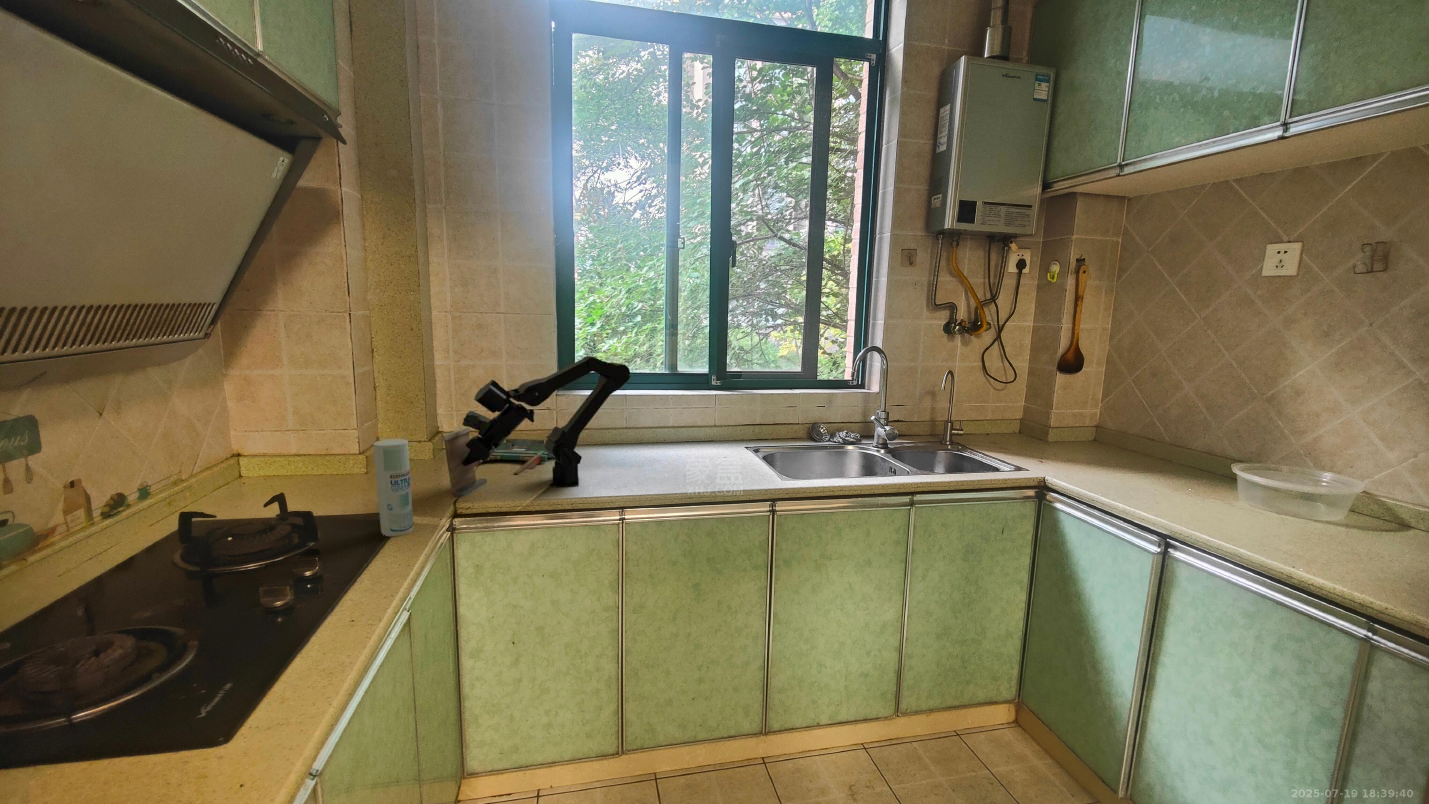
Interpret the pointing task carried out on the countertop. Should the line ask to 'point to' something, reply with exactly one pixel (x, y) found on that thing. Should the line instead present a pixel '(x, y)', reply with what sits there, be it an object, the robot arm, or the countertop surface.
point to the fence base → (470, 487)
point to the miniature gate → (520, 452)
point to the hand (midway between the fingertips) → (463, 464)
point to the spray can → (393, 486)
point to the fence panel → (458, 459)
